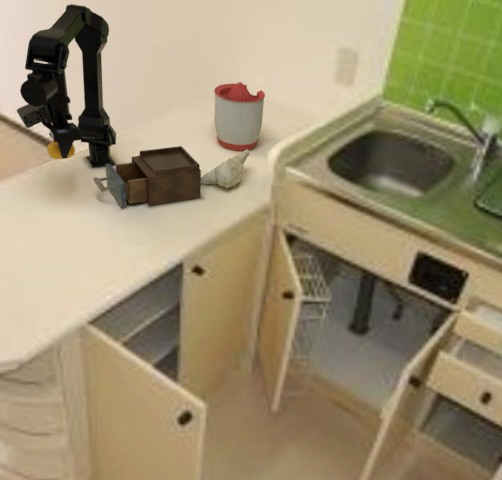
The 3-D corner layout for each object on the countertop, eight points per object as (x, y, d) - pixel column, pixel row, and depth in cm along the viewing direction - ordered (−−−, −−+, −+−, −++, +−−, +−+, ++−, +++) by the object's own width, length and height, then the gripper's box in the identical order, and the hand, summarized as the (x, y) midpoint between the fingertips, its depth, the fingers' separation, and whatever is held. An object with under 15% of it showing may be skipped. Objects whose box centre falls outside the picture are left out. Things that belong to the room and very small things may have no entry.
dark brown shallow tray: (156, 176, 165) (156, 170, 164) (139, 156, 173) (139, 150, 172) (199, 170, 171) (199, 164, 170) (181, 151, 179) (181, 145, 178)
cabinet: (149, 206, 169) (148, 177, 164) (132, 185, 177) (131, 156, 172) (200, 198, 176) (200, 170, 171) (182, 177, 184) (182, 150, 179)
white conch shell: (210, 203, 179) (254, 173, 176) (194, 180, 177) (239, 150, 174) (220, 194, 193) (261, 167, 190) (206, 173, 191) (247, 145, 188)
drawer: (104, 209, 163) (102, 186, 159) (91, 189, 171) (88, 166, 167) (171, 199, 172) (170, 176, 168) (155, 180, 179) (154, 157, 175)
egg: (50, 163, 157) (48, 146, 154) (46, 155, 159) (44, 139, 157) (77, 160, 160) (76, 143, 157) (73, 152, 163) (71, 136, 160)
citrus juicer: (273, 143, 212) (279, 82, 200) (241, 158, 200) (244, 95, 188) (236, 128, 218) (239, 69, 206) (202, 142, 205) (203, 80, 193)
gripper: (8, 80, 152) (18, 142, 161) (26, 109, 140) (36, 174, 149) (57, 77, 157) (64, 137, 166) (78, 105, 145) (85, 168, 155)
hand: (61, 154), depth 159 cm, fingers closed on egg, 4 cm apart
